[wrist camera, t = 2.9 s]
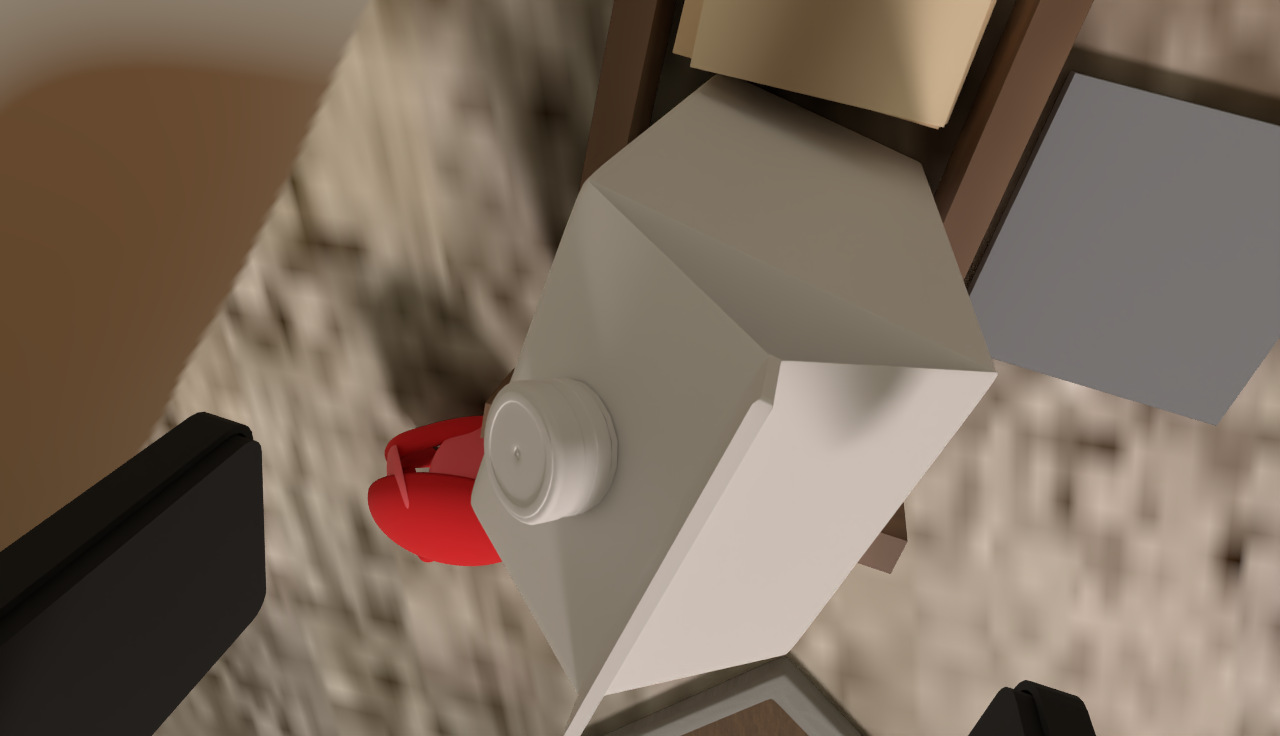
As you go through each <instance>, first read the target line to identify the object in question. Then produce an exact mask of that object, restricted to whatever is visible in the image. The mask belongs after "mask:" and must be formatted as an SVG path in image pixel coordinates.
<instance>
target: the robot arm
mask: <svg viewBox="0 0 1280 736" xmlns="http://www.w3.org/2000/svg"><path fill="white" fill-rule="evenodd" d="M265 595H266V573H265V541H264V509H263V478H262V450H261V445H260V444H259V442H257V441H254V440H253V436H252V431H251V430H250V428H249V427H248V426H246V425H243V424H240V423H237V422H234V421H231V420H228V419H225V418H222V417H219V416H216V415H213V414H210V413H206V412H199V413H196V414H194V415H192V416H190V417H189V418H187V419H186V420H185V421H183V422H182V423H180V424H179V425H178V426H176V427H175V428H173V429H172V430H171V431H169V432H168V433H166V434H165V435H164V436H162V437H161V438H159V439H158V440H157V441H155V442H154V443H152V444H151V445H150V446H148V447H147V448H145V449H144V450H143V451H141V452H140V453H138V454H137V455H136V456H134V457H133V458H131V459H130V460H129V461H127V462H126V463H125V464H123V465H122V466H120V467H119V468H117V469H116V470H115V471H113V472H112V473H110V474H109V475H108V476H107V477H105V478H103V479H102V480H101V481H99V482H98V483H96V484H95V485H94V486H92V487H91V488H90V489H88V490H87V491H85V492H84V493H82V494H81V495H80V496H78V497H77V498H75V499H74V500H73V501H71V502H70V503H68V504H67V505H66V506H64V507H63V508H61V509H60V510H58V511H57V512H56V513H54V514H53V515H51V516H50V517H49V518H47V519H46V520H44V521H43V522H42V523H40V524H39V525H38V526H36V527H35V528H33V529H32V530H30V531H29V532H28V533H26V534H25V535H23V536H22V537H21V538H19V539H18V540H17V541H15V542H14V543H12V544H11V545H9V546H8V547H7V548H5V549H4V550H2V551H1V552H0V736H152V735H153V734H154V732H155V731H156V730H157V729H158V728H159V727H160V726H161V724H162V723H163V722H164V721H165V720H166V719H167V718H168V716H169V715H170V714H171V713H172V712H173V711H174V710H175V708H176V707H177V706H178V705H179V704H180V703H181V702H182V700H183V699H184V698H185V697H186V696H187V695H188V694H189V692H190V691H191V690H192V689H193V688H194V687H195V686H196V684H197V683H198V682H199V681H200V680H201V679H202V678H203V676H204V675H205V674H206V673H207V672H208V671H209V670H210V668H211V667H212V666H213V665H214V664H215V663H216V662H217V660H218V659H219V658H220V657H221V656H222V655H223V654H224V653H225V651H226V650H227V649H228V648H229V647H230V646H231V645H232V643H233V642H234V641H235V640H236V639H237V638H238V637H239V635H240V634H241V633H242V632H243V631H244V630H245V629H246V627H247V626H248V625H249V624H250V623H251V622H252V621H253V619H254V618H255V617H256V615H257V614H258V612H259V610H260V608H261V606H262V604H263V602H264V598H265ZM968 736H1096V734H1095V732H1094V729H1093V726H1092V723H1091V720H1090V717H1089V714H1088V711H1087V709H1086V707H1085V705H1084V702H1083V701H1082V700H1081V699H1080V698H1079V697H1078V696H1075V695H1071V694H1068V693H1065V692H1062V691H1059V690H1056V689H1053V688H1050V687H1047V686H1044V685H1041V684H1038V683H1035V682H1032V681H1027V680H1025V681H1022V682H1020V683H1019V684H1018V685H1017V686H1016V687H1015V688H1014V689H1012V688H1008V687H1004V688H1002V689H1001V690H1000V691H999V692H998V693H997V695H996V696H995V698H994V699H993V701H992V702H991V703H990V705H989V706H988V708H987V709H986V711H985V712H984V714H983V715H982V716H981V718H980V719H979V721H978V722H977V724H976V725H975V727H974V728H973V729H972V731H971V732H970V734H969V735H968Z"/></svg>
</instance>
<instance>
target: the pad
mask: <svg viewBox="0 0 1280 736" xmlns="http://www.w3.org/2000/svg"><path fill="white" fill-rule="evenodd" d="M967 292H968V295H969V298H970V300H971V303H972V306H973V309H974V312H975V314H976V317H977V320H978V323H979V326H980V328H981V331H982V334H983V337H984V339H985V342H986V345H987V348H988V351H989V353H990V356H991V358H993V359H996V360H999V361H1003V362H1006V363H1009V364H1013V365H1016V366H1019V367H1022V368H1026V369H1029V370H1032V371H1036V372H1039V373H1042V374H1046V375H1049V376H1052V377H1056V378H1059V379H1062V380H1066V381H1069V382H1072V383H1076V384H1079V385H1082V386H1086V387H1089V388H1092V389H1096V390H1099V391H1102V392H1106V393H1109V394H1112V395H1116V396H1119V397H1122V398H1126V399H1129V400H1132V401H1136V402H1139V403H1142V404H1145V405H1149V406H1152V407H1155V408H1159V409H1162V410H1165V411H1169V412H1172V413H1175V414H1179V415H1182V416H1185V417H1189V418H1192V419H1195V420H1199V421H1202V422H1205V423H1209V424H1212V425H1215V426H1217V424H1218V423H1219V422H1220V420H1221V419H1222V417H1223V416H1224V415H1225V413H1226V412H1227V410H1228V409H1229V408H1230V406H1231V405H1232V403H1233V402H1234V401H1235V399H1236V398H1237V396H1238V395H1239V394H1240V392H1241V391H1242V389H1243V388H1244V387H1245V385H1246V384H1247V382H1248V381H1249V379H1250V378H1251V377H1252V375H1253V374H1254V372H1255V371H1256V370H1257V368H1258V367H1259V365H1260V364H1261V363H1262V361H1263V360H1264V358H1265V357H1266V356H1267V354H1268V353H1269V351H1270V350H1271V349H1272V347H1273V346H1274V344H1275V343H1276V342H1277V340H1278V339H1279V337H1280V125H1277V124H1273V123H1269V122H1265V121H1261V120H1257V119H1254V118H1250V117H1246V116H1242V115H1238V114H1234V113H1231V112H1227V111H1223V110H1219V109H1215V108H1211V107H1208V106H1204V105H1200V104H1196V103H1192V102H1188V101H1185V100H1181V99H1177V98H1173V97H1169V96H1165V95H1162V94H1158V93H1154V92H1150V91H1146V90H1142V89H1139V88H1135V87H1131V86H1127V85H1123V84H1119V83H1116V82H1112V81H1108V80H1104V79H1100V78H1096V77H1093V76H1089V75H1085V74H1081V73H1077V72H1073V71H1070V72H1069V74H1068V76H1067V79H1066V81H1065V83H1064V85H1063V87H1062V89H1061V91H1060V93H1059V96H1058V98H1057V100H1056V102H1055V104H1054V106H1053V108H1052V110H1051V113H1050V115H1049V117H1048V119H1047V121H1046V123H1045V125H1044V127H1043V130H1042V132H1041V134H1040V136H1039V138H1038V140H1037V142H1036V144H1035V147H1034V149H1033V151H1032V153H1031V155H1030V157H1029V159H1028V161H1027V164H1026V166H1025V168H1024V170H1023V172H1022V174H1021V176H1020V178H1019V181H1018V183H1017V185H1016V187H1015V189H1014V191H1013V193H1012V195H1011V198H1010V200H1009V202H1008V204H1007V206H1006V208H1005V210H1004V212H1003V215H1002V217H1001V219H1000V221H999V223H998V225H997V227H996V229H995V232H994V234H993V236H992V238H991V240H990V242H989V244H988V246H987V249H986V251H985V253H984V255H983V257H982V259H981V261H980V264H979V266H978V268H977V270H976V272H975V274H974V276H973V278H972V281H971V283H970V285H969V287H968V289H967Z"/></svg>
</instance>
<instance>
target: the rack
mask: <svg viewBox="0 0 1280 736" xmlns="http://www.w3.org/2000/svg"><path fill="white" fill-rule="evenodd" d="M1093 1H1094V0H1016V2H1015V5H1014V7H1013V10H1012V12H1011V14H1010V17H1009V19H1008V22H1007V24H1006V26H1005V29H1004V31H1003V33H1002V36H1001V38H1000V41H999V43H998V45H997V48H996V50H995V53H994V55H993V57H992V60H991V62H990V64H989V67H988V69H987V72H986V74H985V76H984V79H983V81H982V84H981V86H980V88H979V91H978V93H977V95H976V98H975V100H974V103H973V105H972V107H971V110H970V112H969V114H968V117H967V119H966V122H965V124H964V126H963V129H962V131H961V134H960V136H959V138H958V141H957V143H956V145H955V148H954V150H953V153H952V155H951V157H950V160H949V162H948V165H947V167H946V169H945V172H944V174H943V176H942V179H941V181H940V184H939V186H938V188H937V191H936V193H935V195H934V200H935V203H936V206H937V209H938V211H939V214H940V217H941V220H942V223H943V225H944V228H945V231H946V234H947V237H948V239H949V242H950V245H951V248H952V250H953V253H954V256H955V259H956V262H957V264H958V267H959V270H960V273H961V275H962V278H963V281H964V279H965V276H966V274H967V272H968V270H969V268H970V266H971V263H972V261H973V259H974V257H975V255H976V253H977V251H978V248H979V246H980V244H981V242H982V240H983V238H984V235H985V233H986V231H987V229H988V227H989V225H990V223H991V220H992V218H993V216H994V214H995V212H996V210H997V208H998V205H999V203H1000V201H1001V199H1002V197H1003V195H1004V192H1005V190H1006V188H1007V186H1008V184H1009V182H1010V180H1011V177H1012V175H1013V173H1014V171H1015V169H1016V167H1017V165H1018V162H1019V160H1020V158H1021V156H1022V154H1023V152H1024V149H1025V147H1026V145H1027V143H1028V141H1029V139H1030V137H1031V134H1032V132H1033V130H1034V128H1035V126H1036V124H1037V121H1038V119H1039V117H1040V115H1041V113H1042V111H1043V109H1044V106H1045V104H1046V102H1047V100H1048V98H1049V96H1050V94H1051V91H1052V89H1053V87H1054V85H1055V83H1056V81H1057V78H1058V76H1059V74H1060V72H1061V70H1062V68H1063V66H1064V63H1065V61H1066V59H1067V57H1068V55H1069V53H1070V50H1071V48H1072V46H1073V44H1074V42H1075V40H1076V38H1077V35H1078V33H1079V31H1080V29H1081V27H1082V25H1083V23H1084V20H1085V18H1086V16H1087V14H1088V12H1089V10H1090V7H1091V5H1092V3H1093ZM676 2H677V0H614V5H613V10H612V16H611V21H610V26H609V32H608V37H607V43H606V48H605V53H604V59H603V64H602V70H601V75H600V80H599V86H598V91H597V97H596V102H595V107H594V113H593V118H592V124H591V129H590V134H589V140H588V145H587V151H586V156H585V161H584V167H583V172H582V178H581V183H580V188H579V192H580V190H581V188H582V185H583V184H584V183H585V181H586V180H587V179H588V178H589V177H590V176H591V175H592V174H593V173H594V172H595V171H596V170H597V169H599V168H600V167H601V166H602V165H603V164H605V163H606V162H607V161H608V160H609V159H611V158H612V157H613V156H614V155H616V154H617V153H618V152H619V151H621V150H622V149H623V148H624V147H626V146H627V145H628V144H629V143H631V142H632V141H633V140H634V139H636V138H637V137H638V136H639V135H641V134H642V133H643V132H644V131H646V130H647V129H648V128H649V124H650V119H651V115H652V110H653V106H654V101H655V97H656V92H657V88H658V83H659V79H660V74H661V70H662V65H663V61H664V56H665V52H666V47H667V43H668V38H669V34H670V29H671V25H672V20H673V16H674V11H675V7H676ZM514 369H515V368H514ZM514 369H513V370H512V371H511V373H510V374H509V375H508V376H507V377H506V379H505V380H504V381H503V382H502V383H501V385H500V386H499V387H498V388H497V389H496V391H495V392H494V393H493V394H492V395H491V397H490V398H489V399H488V400H487V401H486V403H485V408H484V415H483V422H482V429H481V436H480V437H481V438H484V432H485V426H486V420H487V416H488V413H489V410H490V407H491V405H492V403H493V400H494V399H495V397H496V395H497V394H498V392H499V391H500V390H501V389H502V388H503V387H504V386H505V385H507V384H509V383H510V380H511V378H512V375H513V372H514ZM906 543H907V531H906V521H905V511H904V502H903V503H902V504H901V506H900V507H899V508H898V510H897V511H896V512H895V514H894V515H893V516H892V518H891V519H890V520H889V522H888V523H887V524H886V526H885V527H884V528H883V529H882V531H881V532H880V533H879V535H878V536H877V537H876V539H875V540H874V541H873V543H872V544H871V545H870V547H869V548H868V549H867V551H866V552H865V553H864V555H863V556H862V557H861V559H860V560H859V561H858V563H859V564H862V565H865V566H868V567H871V568H874V569H877V570H880V571H883V572H886V573H889V574H891V572H892V570H893V568H894V566H895V564H896V562H897V561H898V559H899V557H900V555H901V553H902V551H903V549H904V547H905V545H906Z"/></svg>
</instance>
